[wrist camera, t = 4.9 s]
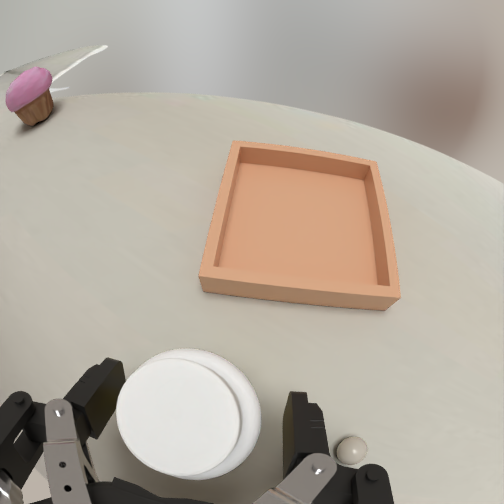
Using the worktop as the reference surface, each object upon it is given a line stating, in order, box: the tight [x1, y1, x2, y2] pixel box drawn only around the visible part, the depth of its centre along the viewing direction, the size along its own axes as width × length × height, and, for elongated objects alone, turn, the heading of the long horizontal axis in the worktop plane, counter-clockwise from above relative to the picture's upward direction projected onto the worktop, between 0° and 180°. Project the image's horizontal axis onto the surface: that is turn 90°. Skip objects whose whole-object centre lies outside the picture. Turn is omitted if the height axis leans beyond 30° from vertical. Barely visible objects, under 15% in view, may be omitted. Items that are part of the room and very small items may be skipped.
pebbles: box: [337, 437, 368, 465], centre depth 13 cm, size 5×5×3 cm
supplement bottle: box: [116, 348, 261, 480], centre depth 12 cm, size 6×6×10 cm
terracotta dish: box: [199, 141, 401, 311], centre depth 22 cm, size 14×14×3 cm
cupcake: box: [6, 67, 53, 126], centre depth 29 cm, size 9×9×10 cm
